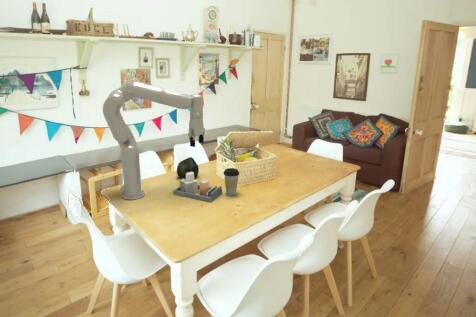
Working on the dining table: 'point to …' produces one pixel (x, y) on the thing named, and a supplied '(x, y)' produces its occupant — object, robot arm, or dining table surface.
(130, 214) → the dining table surface
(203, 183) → the jar
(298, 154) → the dining table surface
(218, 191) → the tray
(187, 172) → the container
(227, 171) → the coffee cup
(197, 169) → the squash
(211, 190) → the pusher
